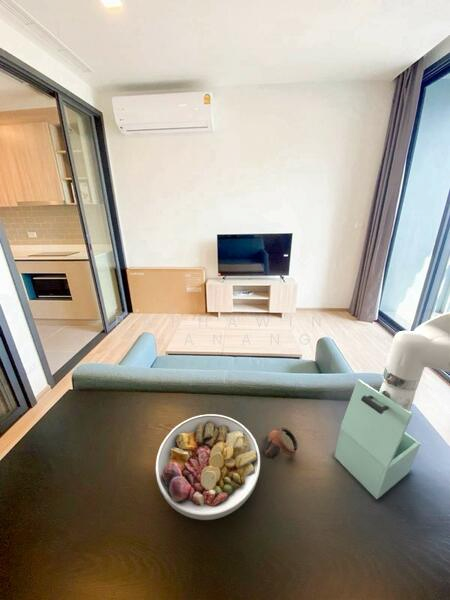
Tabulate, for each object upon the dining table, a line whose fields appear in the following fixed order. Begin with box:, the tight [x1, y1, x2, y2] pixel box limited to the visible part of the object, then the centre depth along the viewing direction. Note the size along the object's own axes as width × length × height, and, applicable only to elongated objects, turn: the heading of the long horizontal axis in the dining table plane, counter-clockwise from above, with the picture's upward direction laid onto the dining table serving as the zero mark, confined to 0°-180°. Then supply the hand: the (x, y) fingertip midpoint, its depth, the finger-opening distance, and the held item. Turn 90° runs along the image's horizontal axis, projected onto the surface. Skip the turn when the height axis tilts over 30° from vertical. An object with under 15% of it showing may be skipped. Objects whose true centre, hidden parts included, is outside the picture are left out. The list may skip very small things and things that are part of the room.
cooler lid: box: [340, 379, 414, 468], centre depth 63 cm, size 16×14×5 cm
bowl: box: [155, 413, 261, 521], centre depth 72 cm, size 30×30×8 cm
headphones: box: [262, 427, 299, 462], centre depth 76 cm, size 12×10×8 cm
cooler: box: [334, 428, 422, 500], centre depth 72 cm, size 16×14×12 cm
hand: (384, 427), depth 70 cm, fingers closed on cosmetic box, 7 cm apart
